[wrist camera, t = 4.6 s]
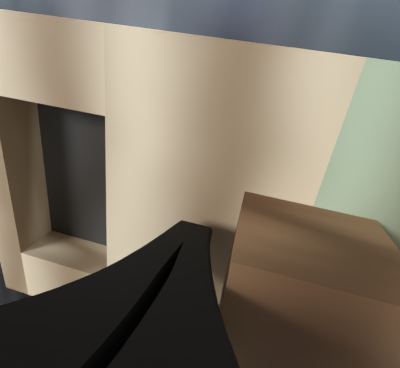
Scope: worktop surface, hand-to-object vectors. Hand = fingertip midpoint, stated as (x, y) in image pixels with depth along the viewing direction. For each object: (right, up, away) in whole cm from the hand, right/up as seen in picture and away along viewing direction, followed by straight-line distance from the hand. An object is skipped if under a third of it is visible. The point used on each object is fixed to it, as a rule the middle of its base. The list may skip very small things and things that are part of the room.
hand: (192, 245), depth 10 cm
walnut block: (+4, 0, 0) cm, 4 cm away
